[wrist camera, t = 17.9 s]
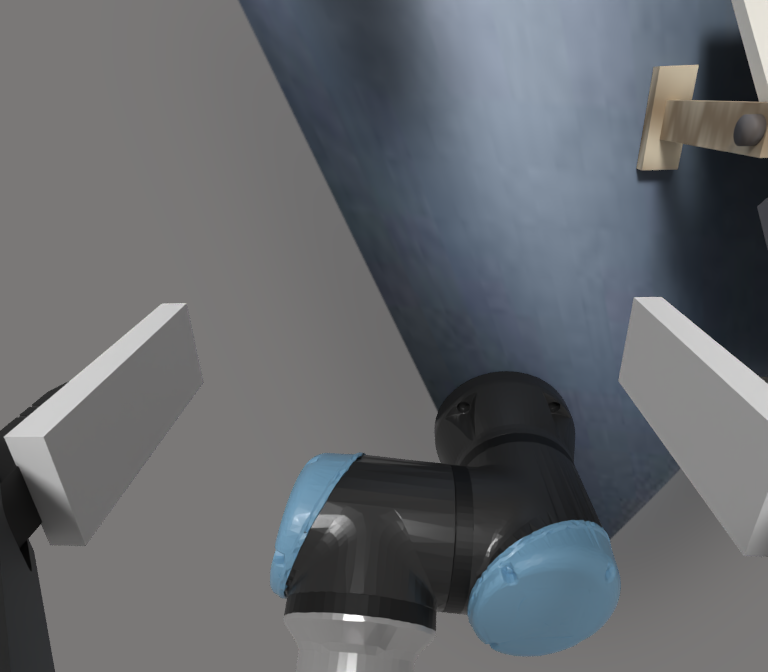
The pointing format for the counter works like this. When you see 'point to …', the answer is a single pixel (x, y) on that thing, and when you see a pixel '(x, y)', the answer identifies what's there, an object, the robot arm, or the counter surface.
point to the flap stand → (696, 121)
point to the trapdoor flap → (756, 60)
